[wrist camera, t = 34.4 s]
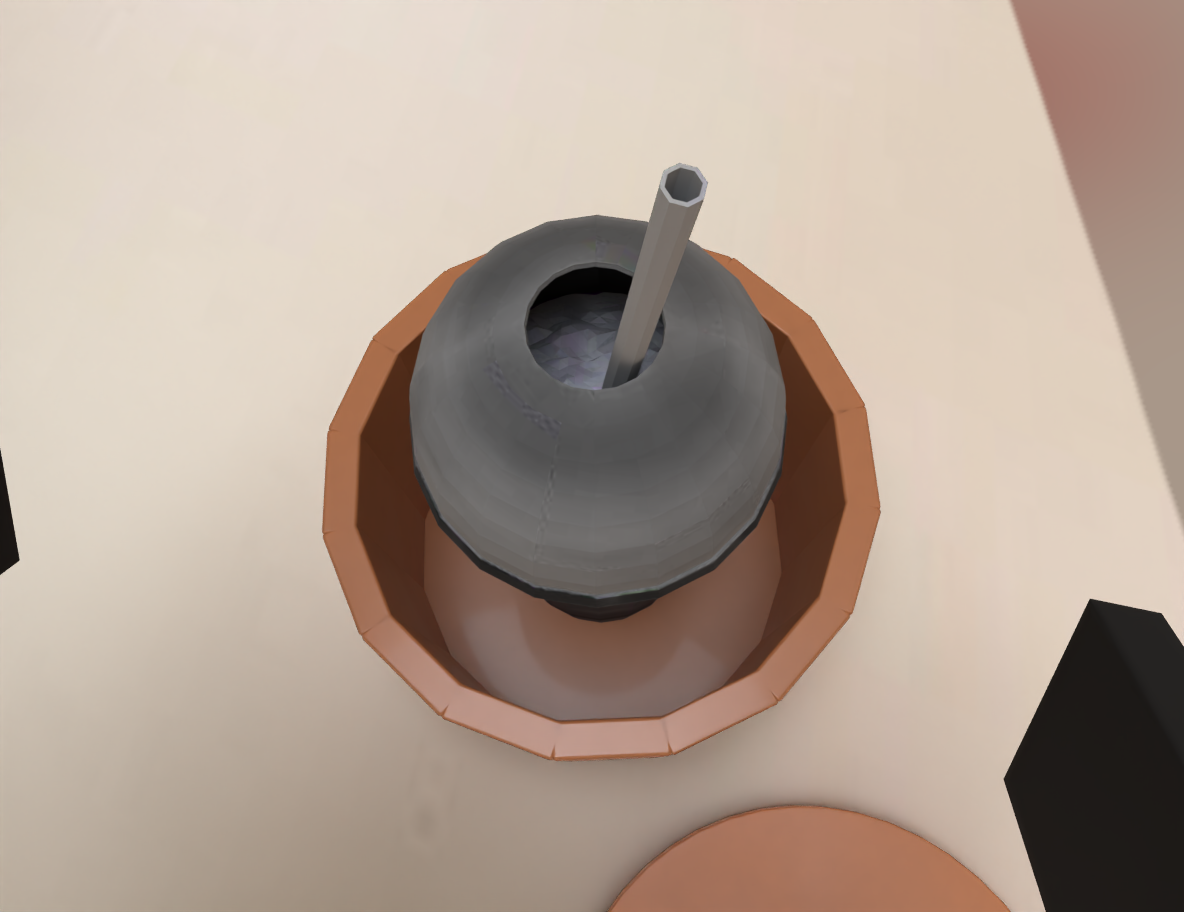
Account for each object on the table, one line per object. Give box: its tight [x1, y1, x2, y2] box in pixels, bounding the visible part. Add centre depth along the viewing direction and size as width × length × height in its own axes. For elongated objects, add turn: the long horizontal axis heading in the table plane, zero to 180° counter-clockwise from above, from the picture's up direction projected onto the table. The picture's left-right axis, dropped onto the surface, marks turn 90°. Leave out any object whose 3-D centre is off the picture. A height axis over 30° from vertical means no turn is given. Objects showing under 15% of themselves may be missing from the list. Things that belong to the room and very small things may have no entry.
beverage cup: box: [409, 163, 787, 623], centre depth 19 cm, size 7×7×20 cm
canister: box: [322, 249, 881, 761], centre depth 25 cm, size 13×13×8 cm
